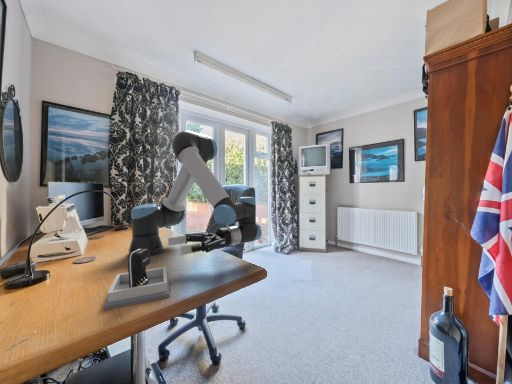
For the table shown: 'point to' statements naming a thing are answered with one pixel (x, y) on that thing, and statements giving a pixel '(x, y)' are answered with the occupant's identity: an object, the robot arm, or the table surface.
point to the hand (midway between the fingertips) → (174, 246)
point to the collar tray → (138, 289)
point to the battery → (138, 267)
